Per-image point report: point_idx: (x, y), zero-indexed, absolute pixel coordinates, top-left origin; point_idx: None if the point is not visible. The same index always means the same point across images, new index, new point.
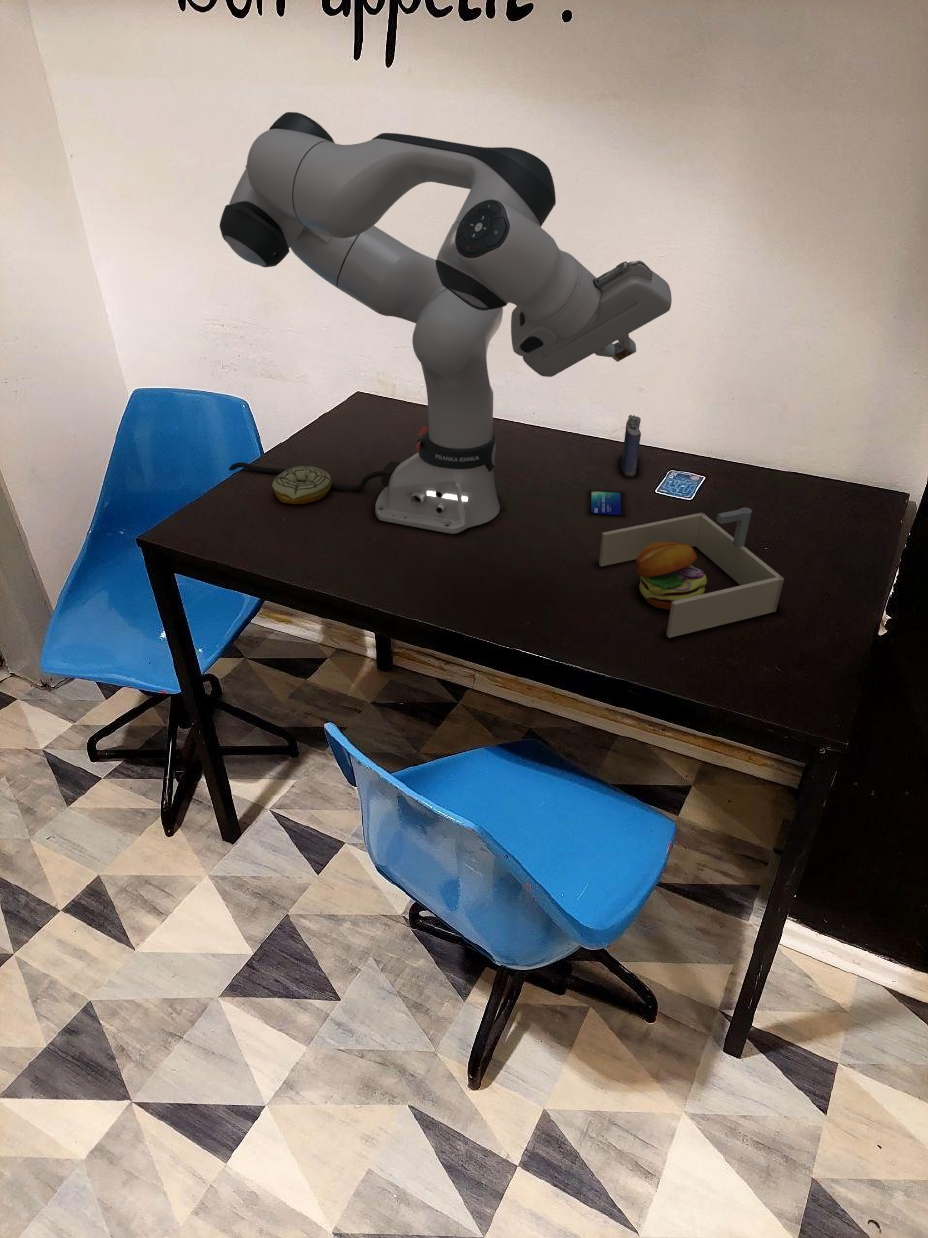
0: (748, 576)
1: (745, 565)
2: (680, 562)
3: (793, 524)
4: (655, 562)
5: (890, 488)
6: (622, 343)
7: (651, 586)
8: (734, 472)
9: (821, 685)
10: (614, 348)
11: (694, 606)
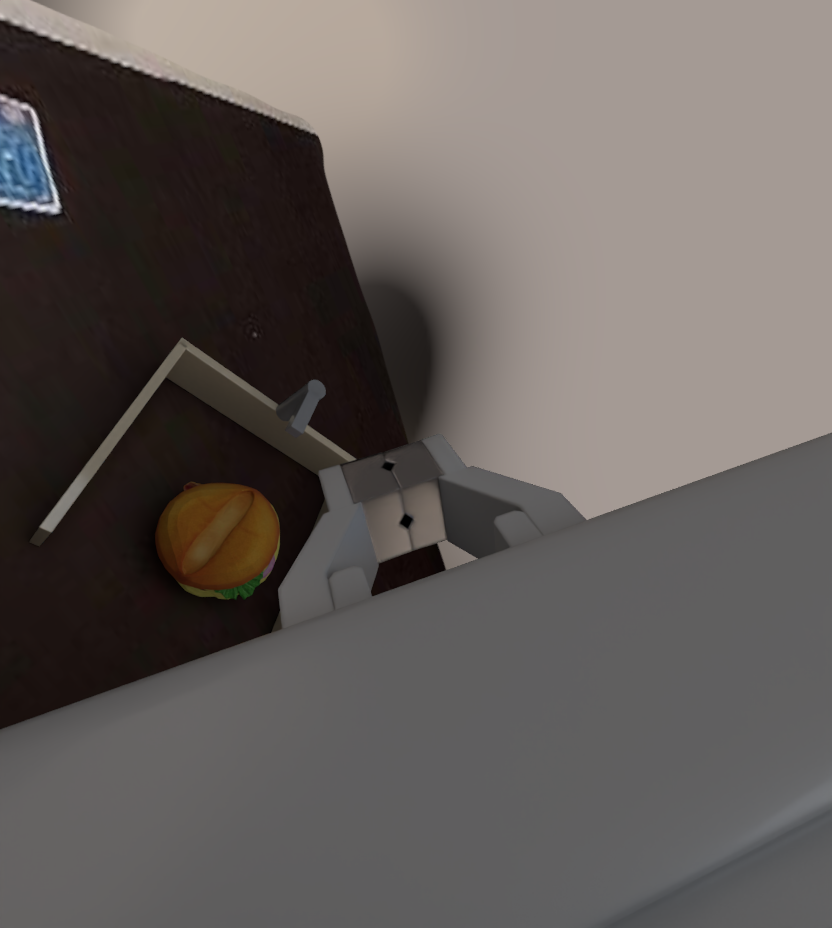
0: (299, 449)
1: (296, 439)
2: (272, 553)
3: (251, 252)
4: (230, 575)
5: (299, 124)
6: (426, 506)
7: (221, 595)
8: (80, 85)
9: None
10: (370, 531)
11: None
